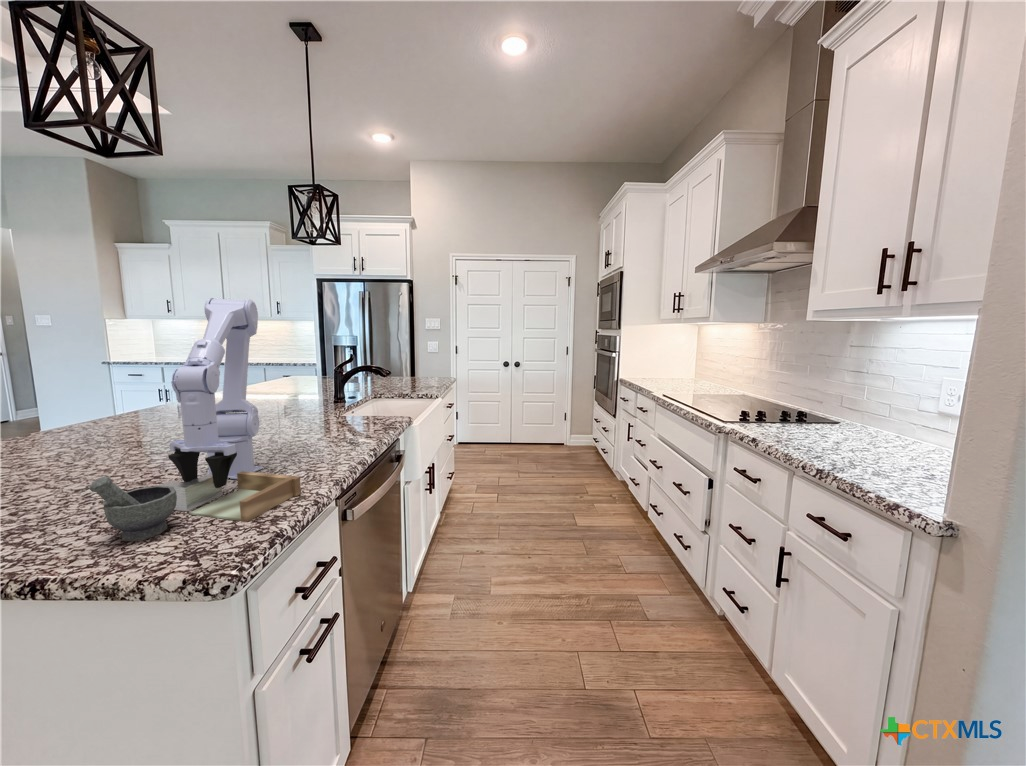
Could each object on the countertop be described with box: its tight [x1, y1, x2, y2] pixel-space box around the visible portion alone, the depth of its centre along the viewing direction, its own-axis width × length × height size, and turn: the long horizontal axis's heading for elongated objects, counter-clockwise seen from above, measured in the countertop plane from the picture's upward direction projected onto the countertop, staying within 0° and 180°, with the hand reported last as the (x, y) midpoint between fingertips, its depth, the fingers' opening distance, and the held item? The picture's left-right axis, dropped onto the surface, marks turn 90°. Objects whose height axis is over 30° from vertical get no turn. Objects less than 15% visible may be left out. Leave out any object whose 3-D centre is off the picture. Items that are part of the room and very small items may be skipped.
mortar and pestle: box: [88, 476, 177, 542], centre depth 71 cm, size 11×9×12 cm
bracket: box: [158, 473, 224, 512], centre depth 85 cm, size 8×6×5 cm
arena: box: [188, 471, 302, 523], centre depth 84 cm, size 15×14×4 cm
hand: (205, 484), depth 86 cm, fingers open, 7 cm apart
